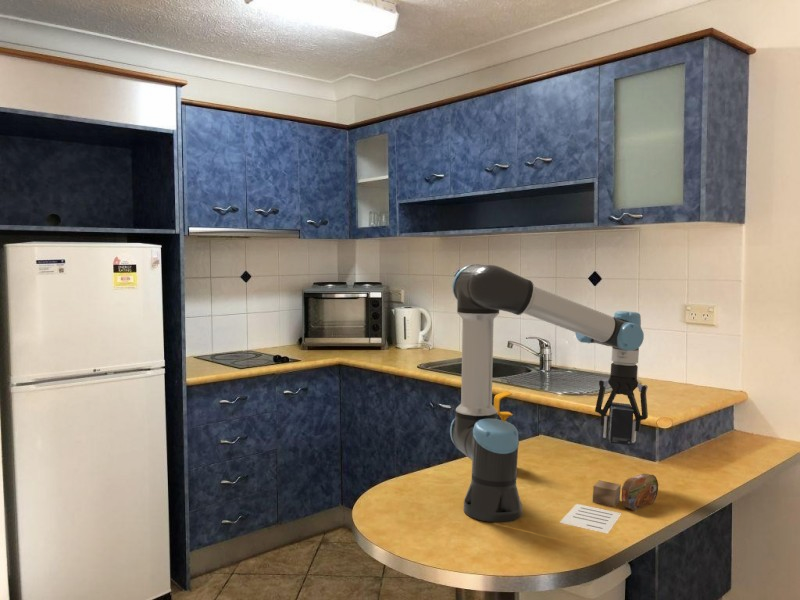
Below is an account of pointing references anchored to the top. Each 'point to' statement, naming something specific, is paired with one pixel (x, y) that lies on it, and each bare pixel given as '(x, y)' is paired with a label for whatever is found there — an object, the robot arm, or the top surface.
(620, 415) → the small box
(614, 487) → the walnut block
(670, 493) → the top surface
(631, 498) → the tin
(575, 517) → the letter
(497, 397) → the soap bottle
